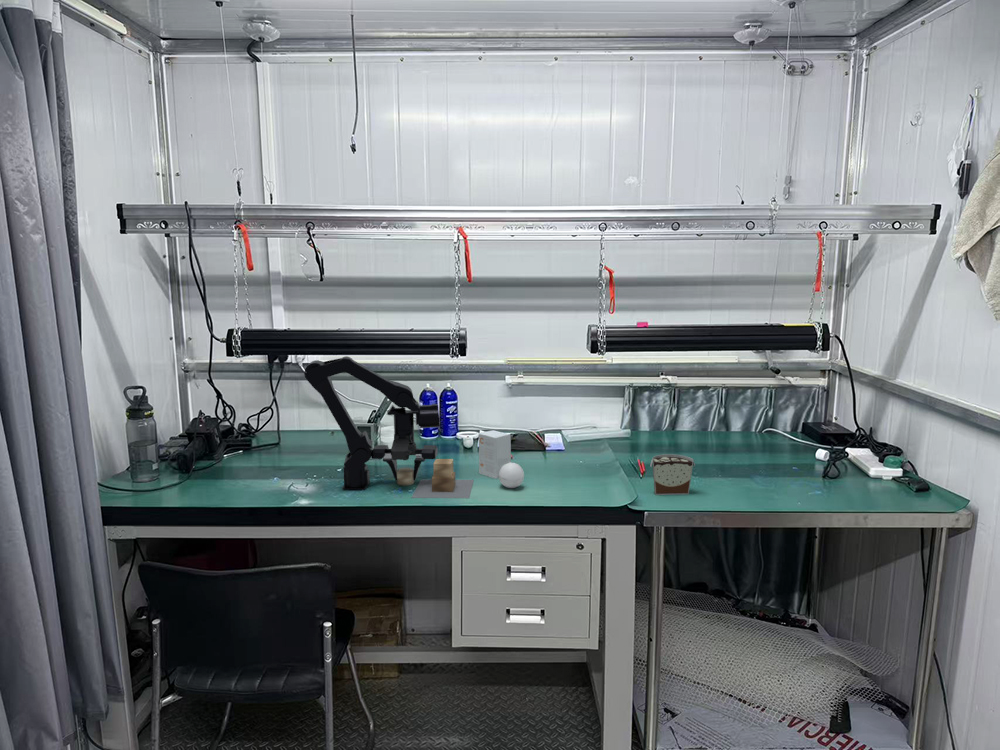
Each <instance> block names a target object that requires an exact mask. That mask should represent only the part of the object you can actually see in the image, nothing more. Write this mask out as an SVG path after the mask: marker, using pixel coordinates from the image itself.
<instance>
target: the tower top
mask: <svg viewBox="0 0 1000 750" xmlns="http://www.w3.org/2000/svg"><path fill="white" fill-rule="evenodd" d="M432 465H433V466H432V467H433V474H434V478H451V477H452V475H453V472H454V459H453V458H435V459H434V462H433V464H432Z"/></svg>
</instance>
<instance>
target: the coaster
mask: <svg viewBox="0 0 1000 750" xmlns="http://www.w3.org/2000/svg"><path fill="white" fill-rule="evenodd" d="M474 481H475V479H455V482H456V485H455V488H454V491H453V492H432V479H430V478H429V479H420V480H419V482H418V484H417V486H416V488H415V490H414V492H413V493H412V495H411V499H470V498H471V493H472V489H473V486H474Z"/></svg>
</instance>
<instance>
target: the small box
mask: <svg viewBox="0 0 1000 750" xmlns="http://www.w3.org/2000/svg"><path fill="white" fill-rule="evenodd" d="M511 441H512V440H511V434H510V433H506V432H502V431H497V430H494V429H492V430H487V431H483V432H479V433H478V472H479V474H480V475H484V476H485V477H489V478H492V479H494V480H499V471H500V469H501V467H502V466H504V465H505V464H507V463H512V458H511V456H512V451H511V450H512V447H511V445H512V444H511ZM493 475H495V476H493Z"/></svg>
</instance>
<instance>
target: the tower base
mask: <svg viewBox="0 0 1000 750" xmlns="http://www.w3.org/2000/svg"><path fill="white" fill-rule="evenodd" d="M431 480H432V492H453V491H454V488H455V485H456V482H455V480H456V471H453V475H452V477H451V478H434V473H433V474H432V477H431Z"/></svg>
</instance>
